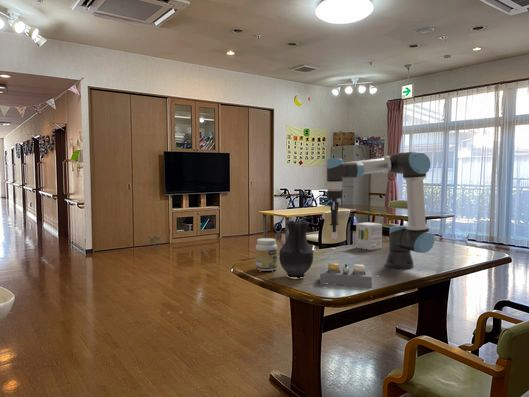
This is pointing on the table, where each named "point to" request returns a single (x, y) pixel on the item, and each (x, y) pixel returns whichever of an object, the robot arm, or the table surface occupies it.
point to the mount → (346, 278)
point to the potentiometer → (345, 269)
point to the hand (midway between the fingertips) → (334, 238)
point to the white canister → (369, 235)
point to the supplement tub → (266, 254)
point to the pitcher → (296, 250)
